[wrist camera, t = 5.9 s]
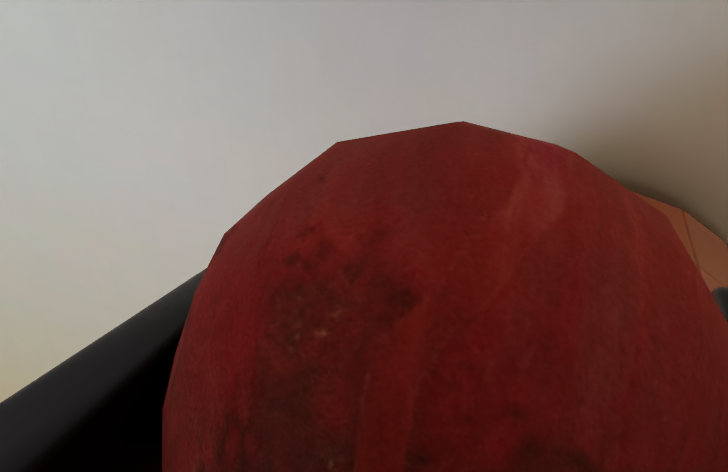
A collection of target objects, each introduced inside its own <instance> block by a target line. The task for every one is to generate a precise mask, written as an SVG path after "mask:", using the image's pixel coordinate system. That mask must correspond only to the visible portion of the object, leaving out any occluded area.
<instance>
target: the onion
mask: <svg viewBox="0 0 728 472" xmlns="http://www.w3.org/2000/svg"><path fill="white" fill-rule="evenodd" d="M162 472H728V323H727V321H726V319H725V317H724V315H723V314H722V312H721V310H720V308H719V306H718V304H717V303H716V301H715V299H714V297H713V295H712V293H711V292H710V290H709V288H708V286H707V284H706V283H705V281H704V279H703V278H702V276H701V274H700V272H699V271H698V269H697V267H696V265H695V264H694V262H693V260H692V258H691V257H690V255H689V253H688V251H687V250H686V248H685V246H684V245H683V243H682V241H681V239H680V238H679V236H678V234H677V232H676V231H675V229H674V227H673V225H672V224H671V222H670V220H669V219H668V217H667V216H666V215H664V214H663V213H662V212H660V211H659V210H657V209H656V208H654V207H653V206H651V205H650V204H649V203H647V202H646V201H644V200H643V199H641V198H640V197H638V196H637V195H636V194H634V193H633V192H631V191H630V190H628V189H627V188H626V187H624V186H623V185H621V184H620V183H618V182H617V181H615V180H614V179H613V178H611V177H610V176H608V175H607V174H605V173H604V172H602V171H601V170H600V169H598V168H597V167H595V166H594V165H592V164H591V163H589V162H588V161H587V160H585V159H584V158H582V157H581V156H579V155H578V154H576V153H574V152H572V151H570V150H567V149H565V148H563V147H560V146H558V145H555V144H551V143H547V142H543V141H539V140H535V139H531V138H527V137H523V136H519V135H515V134H511V133H507V132H503V131H499V130H495V129H491V128H488V127H484V126H480V125H476V124H472V123H468V122H464V121H463V122H454V123H448V124H442V125H436V126H430V127H424V128H418V129H412V130H406V131H400V132H394V133H388V134H382V135H377V136H371V137H365V138H359V139H353V140H347V141H341V142H337V143H335V144H334V145H333V146H331V147H330V148H329V149H327V150H326V151H325V152H323V153H322V154H321V155H320V156H318V157H317V158H316V159H314V160H313V161H312V162H310V163H309V164H308V165H306V166H305V167H304V168H302V169H301V170H300V171H298V172H297V173H296V174H294V175H293V176H292V177H290V178H289V179H288V180H287V181H285V182H284V183H283V184H281V185H280V186H279V187H277V188H276V189H275V190H273V191H272V192H271V193H269V194H268V195H267V196H266V197H265V198H263V199H262V200H261V201H260V202H259V203H258V204H257V205H256V206H255V207H254V208H252V209H251V210H250V211H249V212H248V213H247V214H246V215H245V216H244V217H243V218H241V219H240V220H239V221H238V222H237V223H236V224H235V225H234V226H233V227H232V228H230V229H229V230H228V231H227V232H226V233H225V234H224V236H223V238H222V240H221V242H220V244H219V246H218V248H217V249H216V251H215V253H214V255H213V257H212V259H211V261H210V263H209V265H208V267H207V269H206V271H205V273H204V275H203V277H202V279H201V281H200V283H199V285H198V287H197V289H196V291H195V294H194V297H193V300H192V303H191V306H190V310H189V313H188V316H187V319H186V322H185V325H184V328H183V331H182V334H181V338H180V341H179V344H178V347H177V350H176V353H175V357H174V362H173V366H172V370H171V375H170V379H169V384H168V388H167V392H166V397H165V401H164V406H163V410H162Z"/></svg>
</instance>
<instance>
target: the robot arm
mask: <svg viewBox="0 0 728 472" xmlns="http://www.w3.org/2000/svg"><path fill="white" fill-rule="evenodd" d="M206 269H207V268H206ZM206 269H205V270H203V271H202V272H200V273H198V274H197V275H195V276H194V277H192V278H191V279H189V280H188V281H186V282H185V283H183V284H182V285H180V286H179V287H177V288H176V289H174V290H173V291H171V292H169V293H168V294H166V295H165V296H163V297H162V298H160V299H159V300H157V301H156V302H154V303H153V304H151V305H150V306H148V307H147V308H145V309H144V310H142V311H140V312H139V313H137V314H136V315H134V316H133V317H131V318H130V319H128V320H127V321H125V322H124V323H122V324H121V325H119V326H118V327H116V328H114V329H113V330H111V331H110V332H108V333H107V334H105V335H104V336H102V337H101V338H99V339H98V340H96V341H95V342H93V343H92V344H90V345H88V346H87V347H85V348H84V349H82V350H81V351H79V352H78V353H76V354H75V355H73V356H72V357H70V358H69V359H67V360H66V361H64V362H62V363H61V364H59V365H58V366H56V367H55V368H53V369H52V370H50V371H49V372H47V373H46V374H44V375H43V376H41V377H40V378H38V379H36V380H35V381H33V382H32V383H30V384H29V385H27V386H26V387H24V388H23V389H21V390H20V391H18V392H17V393H15V394H14V395H12V396H10V397H9V398H7V399H6V400H4V401H3V402H1V403H0V472H162V410H163V406H164V401H165V397H166V392H167V388H168V384H169V379H170V375H171V370H172V366H173V362H174V357H175V353H176V350H177V347H178V344H179V341H180V338H181V334H182V331H183V328H184V325H185V322H186V319H187V316H188V313H189V310H190V306H191V303H192V300H193V297H194V294H195V291H196V289H197V287H198V285H199V283H200V281H201V279H202V277H203V275H204V273H205V271H206ZM712 295H713V297H714V299H715V301H716V303H717V304H718V306H719V308H720V310H721V312H722V314H723V315H724V317H725V319H726V321H727V323H728V287H717V288H716V289H714V290H713V291H712Z"/></svg>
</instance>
